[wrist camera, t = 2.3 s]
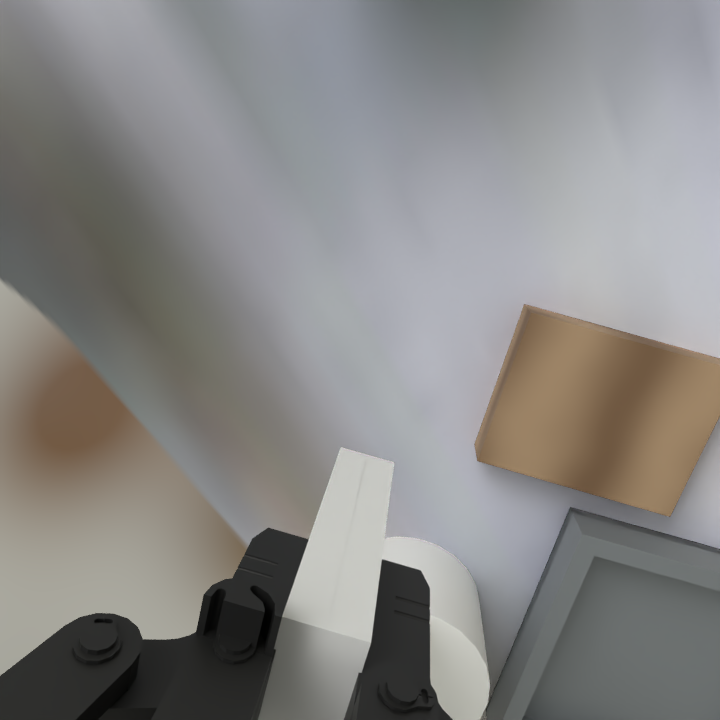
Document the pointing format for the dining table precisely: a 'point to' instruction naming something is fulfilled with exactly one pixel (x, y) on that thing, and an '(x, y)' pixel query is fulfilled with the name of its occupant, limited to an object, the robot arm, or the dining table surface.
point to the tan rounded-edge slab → (600, 410)
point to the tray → (617, 629)
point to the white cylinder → (449, 626)
